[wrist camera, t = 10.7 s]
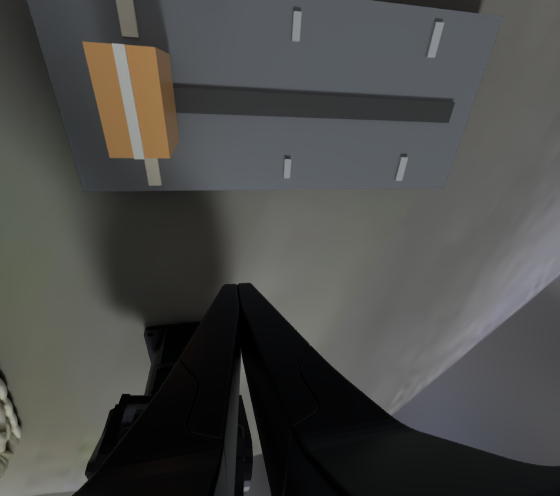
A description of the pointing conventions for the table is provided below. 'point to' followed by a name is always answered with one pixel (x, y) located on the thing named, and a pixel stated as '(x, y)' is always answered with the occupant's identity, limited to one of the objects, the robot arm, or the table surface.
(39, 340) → the table surface
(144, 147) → the fader knob
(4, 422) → the storage basket
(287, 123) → the fader panel
